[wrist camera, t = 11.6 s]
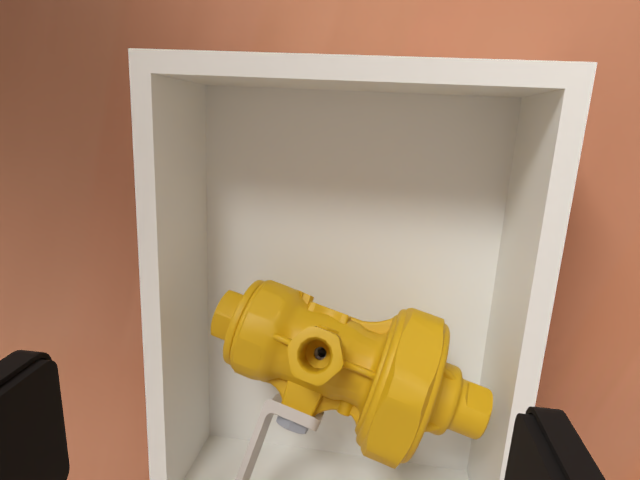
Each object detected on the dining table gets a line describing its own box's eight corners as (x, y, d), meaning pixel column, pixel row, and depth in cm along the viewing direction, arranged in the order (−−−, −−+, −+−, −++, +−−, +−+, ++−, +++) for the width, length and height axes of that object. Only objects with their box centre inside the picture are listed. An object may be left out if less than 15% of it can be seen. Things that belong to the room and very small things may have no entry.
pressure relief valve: (263, 260, 21) (487, 342, 19) (156, 534, 19) (391, 652, 17) (225, 235, 15) (532, 346, 14) (70, 613, 14) (398, 794, 12)
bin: (200, 437, 23) (151, 518, 18) (194, 67, 19) (127, 48, 14) (478, 476, 22) (503, 577, 17) (540, 79, 17) (597, 62, 13)
